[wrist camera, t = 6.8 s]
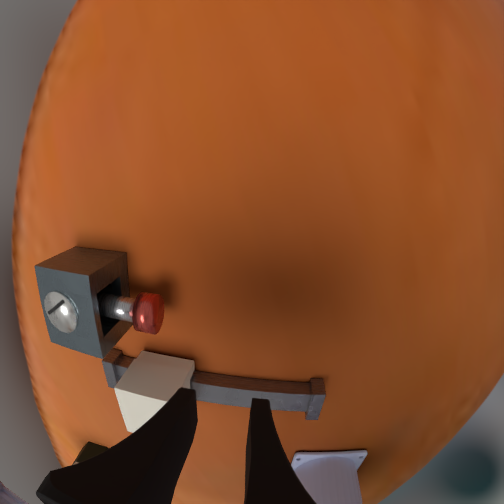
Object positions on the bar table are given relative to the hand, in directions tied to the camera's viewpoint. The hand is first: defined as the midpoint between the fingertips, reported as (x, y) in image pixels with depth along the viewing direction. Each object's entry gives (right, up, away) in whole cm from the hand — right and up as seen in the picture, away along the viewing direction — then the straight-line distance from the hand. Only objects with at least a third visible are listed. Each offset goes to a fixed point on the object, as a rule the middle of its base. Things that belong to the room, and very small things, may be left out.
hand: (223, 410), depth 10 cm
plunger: (-7, +3, +9) cm, 11 cm away
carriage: (-6, -4, +12) cm, 14 cm away
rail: (-2, -4, +12) cm, 13 cm away
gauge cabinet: (-11, +4, +10) cm, 15 cm away
